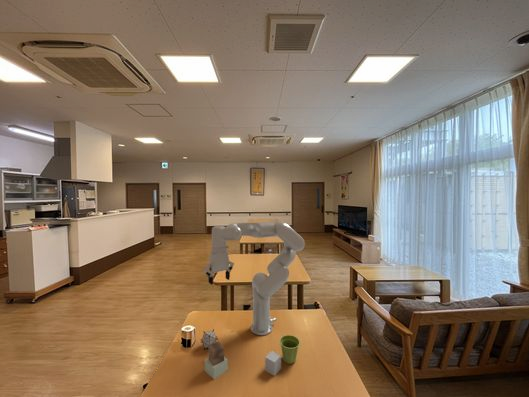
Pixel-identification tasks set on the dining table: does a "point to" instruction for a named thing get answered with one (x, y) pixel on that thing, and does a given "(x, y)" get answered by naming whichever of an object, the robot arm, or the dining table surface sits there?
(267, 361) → the grey block
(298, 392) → the dining table surface
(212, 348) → the walnut block
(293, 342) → the plant pot
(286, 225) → the robot arm
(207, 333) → the grey spiky ball
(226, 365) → the base block
